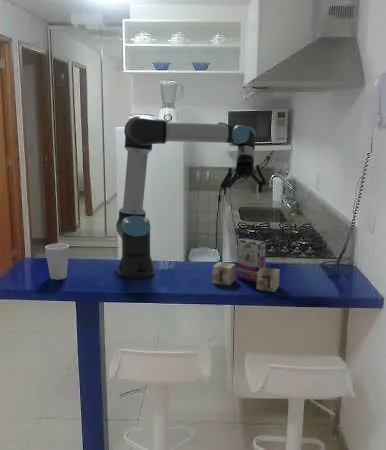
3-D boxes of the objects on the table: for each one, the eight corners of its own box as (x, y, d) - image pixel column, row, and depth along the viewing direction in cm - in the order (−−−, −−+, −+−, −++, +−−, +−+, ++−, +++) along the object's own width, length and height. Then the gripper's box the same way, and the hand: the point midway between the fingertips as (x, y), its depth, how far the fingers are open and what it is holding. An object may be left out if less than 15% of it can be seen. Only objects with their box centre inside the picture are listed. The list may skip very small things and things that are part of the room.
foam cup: (75, 275, 200) (74, 245, 198) (60, 282, 192) (58, 250, 189) (56, 272, 204) (55, 242, 202) (41, 278, 196) (39, 247, 193)
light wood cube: (256, 289, 187) (257, 272, 185) (261, 284, 193) (261, 267, 192) (274, 292, 184) (275, 274, 182) (278, 286, 190) (279, 269, 189)
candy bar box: (265, 281, 196) (266, 241, 193) (257, 284, 193) (259, 243, 189) (243, 275, 204) (244, 237, 200) (235, 278, 200) (236, 239, 197)
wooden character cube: (212, 283, 193) (212, 266, 192) (218, 278, 200) (218, 261, 198) (229, 285, 191) (229, 268, 189) (234, 280, 197) (235, 263, 196)
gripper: (275, 159, 214) (273, 202, 205) (221, 166, 224) (217, 207, 215) (270, 150, 208) (268, 193, 199) (216, 157, 218) (211, 198, 209)
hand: (242, 200), depth 207 cm, fingers open, 13 cm apart
